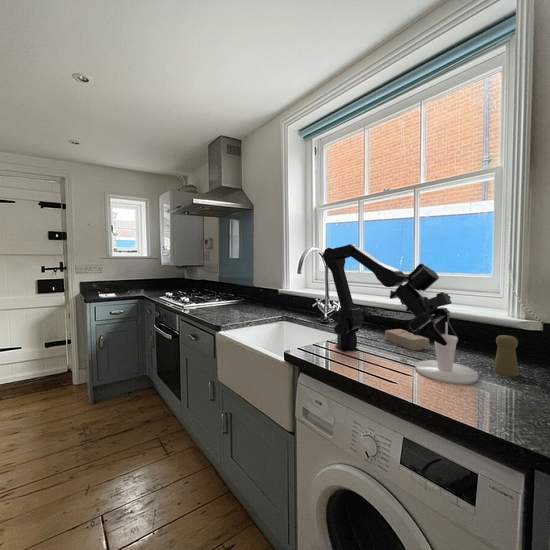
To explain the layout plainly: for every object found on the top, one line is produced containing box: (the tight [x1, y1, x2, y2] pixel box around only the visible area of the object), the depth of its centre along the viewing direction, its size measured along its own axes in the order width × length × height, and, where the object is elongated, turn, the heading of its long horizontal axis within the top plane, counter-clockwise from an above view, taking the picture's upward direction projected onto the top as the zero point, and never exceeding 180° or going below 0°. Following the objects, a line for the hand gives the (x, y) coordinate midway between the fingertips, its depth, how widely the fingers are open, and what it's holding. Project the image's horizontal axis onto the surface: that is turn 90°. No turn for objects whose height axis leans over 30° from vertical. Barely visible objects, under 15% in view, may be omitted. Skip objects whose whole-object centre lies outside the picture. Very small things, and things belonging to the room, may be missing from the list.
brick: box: [384, 328, 431, 351], centre depth 118 cm, size 17×8×5 cm, turn 17°
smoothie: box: [434, 322, 459, 371], centre depth 86 cm, size 6×6×14 cm
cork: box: [492, 334, 520, 377], centre depth 87 cm, size 6×6×11 cm
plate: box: [414, 359, 479, 385], centre depth 87 cm, size 16×16×1 cm
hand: (451, 342), depth 85 cm, fingers open, 9 cm apart
